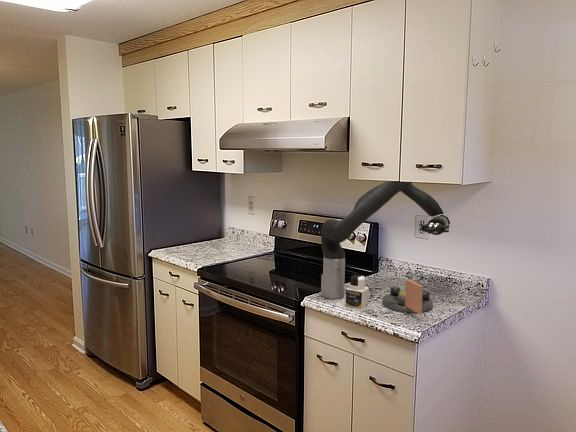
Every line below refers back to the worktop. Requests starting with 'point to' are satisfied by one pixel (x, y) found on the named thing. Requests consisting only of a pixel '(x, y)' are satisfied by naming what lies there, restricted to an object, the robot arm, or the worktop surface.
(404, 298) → the terracotta flat panel
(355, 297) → the medicine bottle
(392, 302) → the levelling base
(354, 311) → the worktop surface
